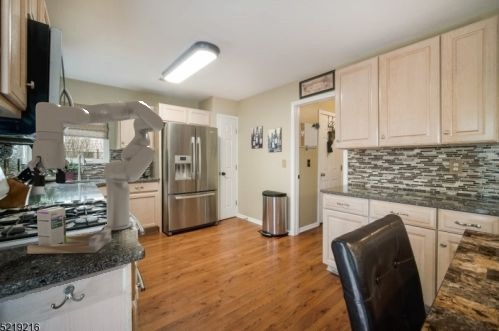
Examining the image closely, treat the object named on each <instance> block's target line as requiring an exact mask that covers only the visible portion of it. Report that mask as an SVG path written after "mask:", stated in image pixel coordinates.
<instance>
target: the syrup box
mask: <svg viewBox="0 0 499 331" xmlns="http://www.w3.org/2000/svg"><path fill="white" fill-rule="evenodd" d="M36 216H37V217H36V219H37V220H36V221H37V222H36V223H37V240H38V241H37V242H38V243H37V245H58V244H66V235H67V231H66V230H67V226H66V225H67V224H66V223H67V222H66V221H67V219H66V208H65V207H63V206H52V207H48V208H43V209H37V211H36Z"/></svg>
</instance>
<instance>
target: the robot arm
mask: <svg viewBox="0 0 499 331" xmlns="http://www.w3.org/2000/svg"><path fill="white" fill-rule="evenodd" d="M130 120H133V124H132V126H133V130H134V136H133V138H132V139H131V141H130V142H129V143H128V144H127V145H126V146H125V147H124V148H123V149H122V150H121V153H120V158H121V160H112V161H110V162H109V161H108V163H106V164H105V166H104V168H103V176H104V180H105V186H106V223H107V224H106V223H105V225H104V224H103V226H102V229H103V228H104V229H111V231H120V230H125V229H129V228H131V227H133V225H134V222H133V220H131V217H132V216H133V215H132V213H131V212H130V211H131V210H130V209H131V208H130V205H131V204H130V197H131V196H130V195H131V194H130V191H131V190H130V186H129V183H130V182H131V183H133V182H136V181H138V180H139V179H140V178H141V177H142V176H143V174H144V173H145V172H146V171H147V169H148V168H149V166H150V165H151V164H152V162H153V160H154V155H155V154H154V151H153V149H152V148H151V146H150V145H151V137H150V133H157V132H161V131H162V130H163V129H164V121H163V119H162V116H161V115H159V114H158V113H157V112H156V111H155V110H153V108H152V107H150V106H149V105H147V104H146V103H145V102H144V101H141V100H134V101H120V102H107V103H106V102H105V103H97V104H92V105H84V106H72V105H71V106H67V105H60V104H59V103H54V102H47V101H46V102H45V101H41V102H37V103H36V105H35V140H34V142H33V145H32V150H31V160H29V161H28V162H27V166H28V169H29V171H30V172H31V176H33V187H35V188H37V187H39V188H43V187H45V186H46V175H45V172H46V171H47V170H55V171H56V172H55V184H66V174H67V170H68V169H69V166H70V165H69V164H70V161H69V160H67V159H66V149H65V148H66V147H65V143H64V142H65V141H64V139H65V134H64V129H65V128H76V127H80V128H81V127H84V126H86V125H90V124H91V125H92V124H108V123H109V124H111V123H117V122H123V121H130ZM104 229H103V230H104Z"/></svg>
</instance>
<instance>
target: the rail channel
mask: <svg viewBox="0 0 499 331" xmlns="http://www.w3.org/2000/svg"><path fill="white" fill-rule="evenodd" d="M111 242H112V230H111V229H103V230H102V231H99V232H98V233H86V234H85V233H84V234H83V233H82V234H69V235H68V234H66V244H58V245H38V244H30V245H28V246H27V248H26V249H27V252H26V253H27V255H28V254H29V255H31V254H33V255H35V254H38V255H39V254H87V253H88V254H89V253H91V254H92V253H97V252H98V251H99V250H100V249H102V248H103V247H105V246H106V245H108V244H109V243H111Z"/></svg>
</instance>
